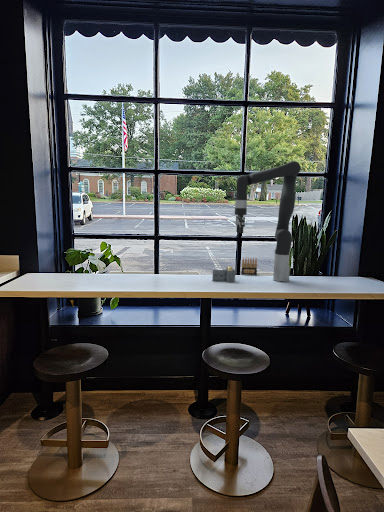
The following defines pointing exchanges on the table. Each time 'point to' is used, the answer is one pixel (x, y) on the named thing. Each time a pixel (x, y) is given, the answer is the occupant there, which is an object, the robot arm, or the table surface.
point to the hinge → (224, 275)
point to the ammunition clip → (249, 267)
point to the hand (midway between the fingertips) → (239, 232)
